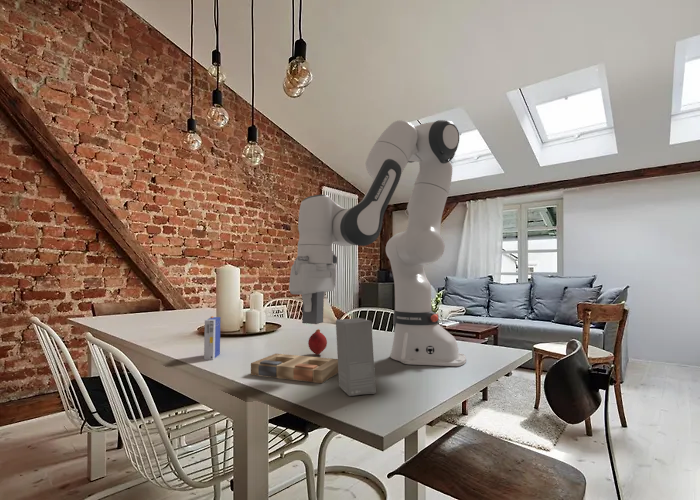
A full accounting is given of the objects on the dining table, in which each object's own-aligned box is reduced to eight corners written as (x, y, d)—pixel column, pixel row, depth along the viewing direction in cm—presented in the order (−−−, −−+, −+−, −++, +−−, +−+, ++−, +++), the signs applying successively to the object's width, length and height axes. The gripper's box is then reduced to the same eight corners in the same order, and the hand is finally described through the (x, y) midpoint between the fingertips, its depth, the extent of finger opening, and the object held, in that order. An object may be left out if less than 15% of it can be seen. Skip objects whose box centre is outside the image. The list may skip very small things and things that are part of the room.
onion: (319, 357, 119) (319, 331, 119) (304, 355, 122) (304, 329, 122) (330, 354, 124) (330, 328, 124) (315, 352, 127) (315, 327, 127)
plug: (323, 322, 102) (323, 289, 102) (316, 324, 98) (317, 289, 98) (309, 321, 103) (310, 288, 104) (302, 323, 99) (303, 289, 100)
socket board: (340, 370, 104) (340, 357, 104) (321, 383, 93) (321, 369, 93) (275, 364, 111) (275, 352, 111) (250, 375, 100) (250, 361, 100)
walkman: (211, 354, 124) (211, 316, 124) (219, 354, 124) (220, 315, 124) (203, 360, 116) (204, 319, 116) (212, 359, 116) (213, 319, 117)
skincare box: (376, 394, 85) (376, 321, 85) (344, 397, 83) (344, 322, 83) (363, 383, 93) (363, 316, 93) (334, 386, 91) (334, 317, 91)
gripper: (307, 255, 91) (305, 315, 90) (340, 258, 110) (339, 307, 109) (283, 255, 93) (281, 313, 92) (319, 258, 112) (318, 306, 111)
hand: (313, 310), depth 101 cm, fingers closed on plug, 4 cm apart
